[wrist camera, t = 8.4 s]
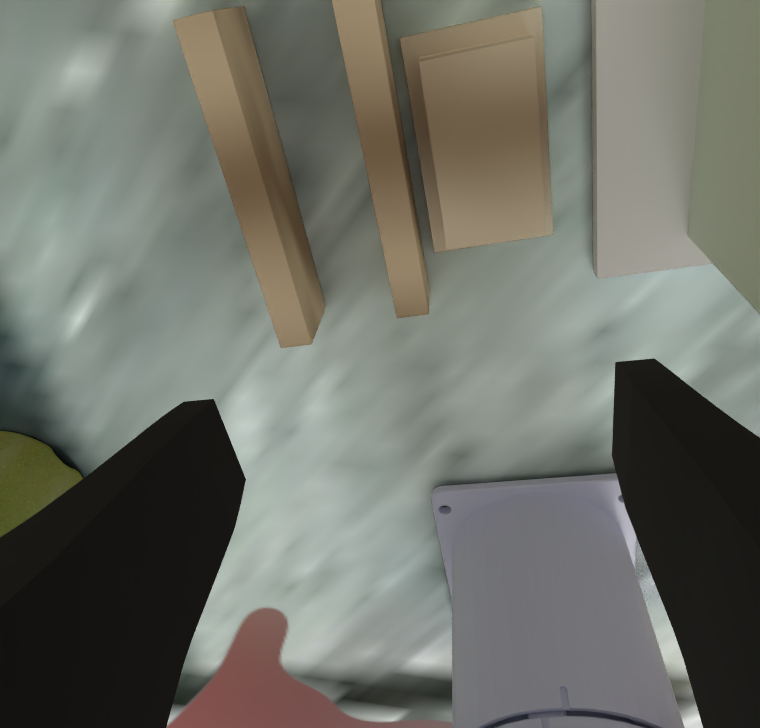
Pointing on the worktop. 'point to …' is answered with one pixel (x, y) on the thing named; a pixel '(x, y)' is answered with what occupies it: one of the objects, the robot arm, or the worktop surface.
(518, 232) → the offcut upper
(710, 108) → the block
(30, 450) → the plant pot
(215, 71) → the rack
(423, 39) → the offcut lower
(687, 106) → the mat
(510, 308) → the worktop surface
